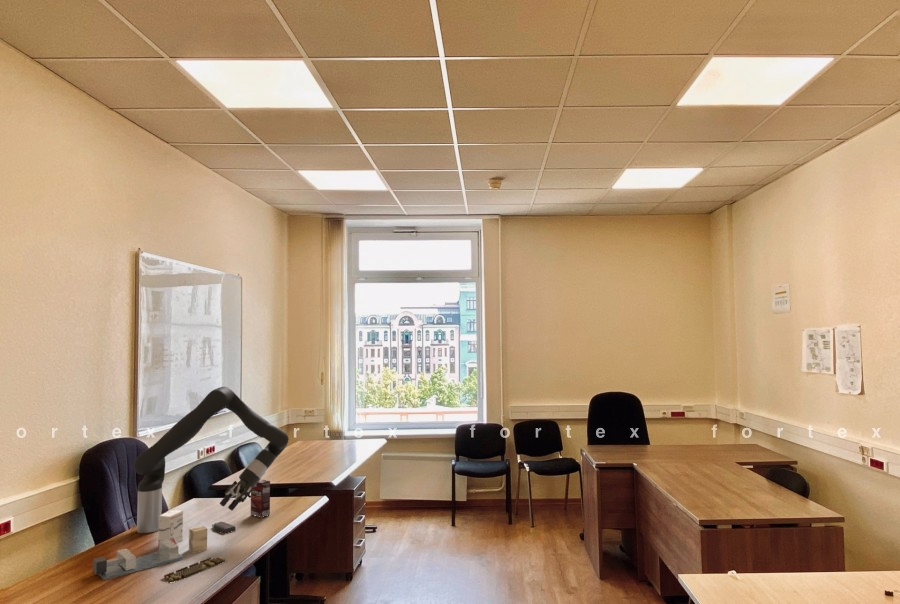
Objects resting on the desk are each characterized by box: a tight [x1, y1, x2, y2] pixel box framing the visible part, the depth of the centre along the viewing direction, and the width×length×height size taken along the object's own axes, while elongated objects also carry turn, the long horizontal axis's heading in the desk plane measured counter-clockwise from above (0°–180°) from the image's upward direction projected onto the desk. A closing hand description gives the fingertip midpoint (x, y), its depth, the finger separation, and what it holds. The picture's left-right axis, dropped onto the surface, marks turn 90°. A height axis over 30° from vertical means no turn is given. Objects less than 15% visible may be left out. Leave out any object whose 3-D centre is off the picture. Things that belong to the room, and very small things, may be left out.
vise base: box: [98, 539, 184, 581], centre depth 196 cm, size 12×25×5 cm, turn 134°
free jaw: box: [92, 548, 136, 576], centre depth 191 cm, size 12×11×4 cm
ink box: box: [158, 509, 184, 548], centre depth 218 cm, size 9×5×12 cm, turn 168°
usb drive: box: [211, 521, 237, 535], centre depth 233 cm, size 5×12×3 cm, turn 51°
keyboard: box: [160, 556, 226, 584], centre depth 190 cm, size 22×9×2 cm, turn 149°
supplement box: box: [250, 478, 271, 517], centre depth 253 cm, size 9×5×16 cm, turn 55°
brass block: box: [188, 525, 208, 554], centre depth 210 cm, size 5×5×8 cm
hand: (225, 507), depth 218 cm, fingers open, 8 cm apart
